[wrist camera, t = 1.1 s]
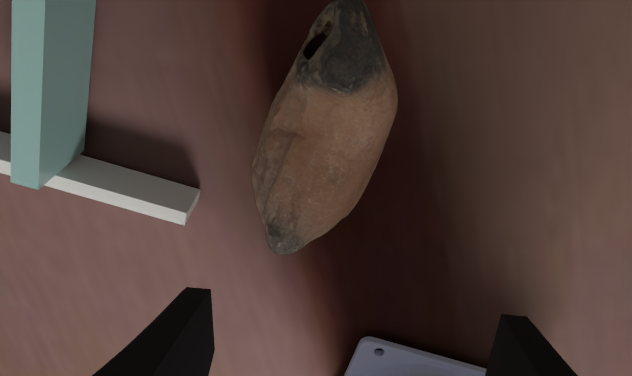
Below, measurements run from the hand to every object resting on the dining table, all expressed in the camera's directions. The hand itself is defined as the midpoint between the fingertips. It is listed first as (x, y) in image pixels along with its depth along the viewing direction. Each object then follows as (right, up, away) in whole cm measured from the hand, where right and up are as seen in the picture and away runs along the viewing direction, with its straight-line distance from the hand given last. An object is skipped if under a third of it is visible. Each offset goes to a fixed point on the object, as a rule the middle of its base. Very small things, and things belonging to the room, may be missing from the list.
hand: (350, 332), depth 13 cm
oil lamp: (0, +8, +7) cm, 10 cm away
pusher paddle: (-9, +10, +6) cm, 15 cm away
